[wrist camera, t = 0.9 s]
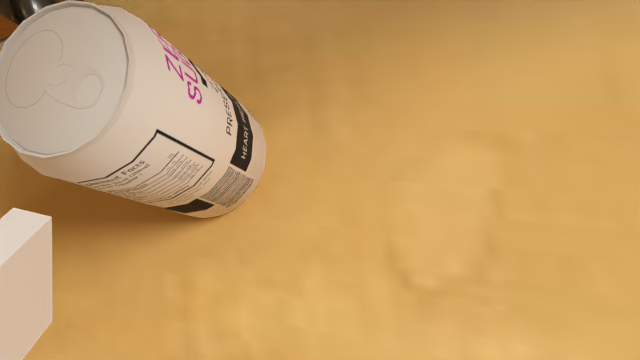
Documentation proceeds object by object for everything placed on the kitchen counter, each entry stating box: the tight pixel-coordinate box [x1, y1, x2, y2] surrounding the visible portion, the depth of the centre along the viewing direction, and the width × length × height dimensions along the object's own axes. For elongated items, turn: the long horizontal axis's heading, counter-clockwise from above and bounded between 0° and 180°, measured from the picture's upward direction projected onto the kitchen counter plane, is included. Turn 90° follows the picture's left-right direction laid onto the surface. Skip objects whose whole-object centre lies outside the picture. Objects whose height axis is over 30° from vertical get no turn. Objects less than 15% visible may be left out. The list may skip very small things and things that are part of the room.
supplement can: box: [0, 0, 267, 218], centre depth 30 cm, size 8×8×15 cm
